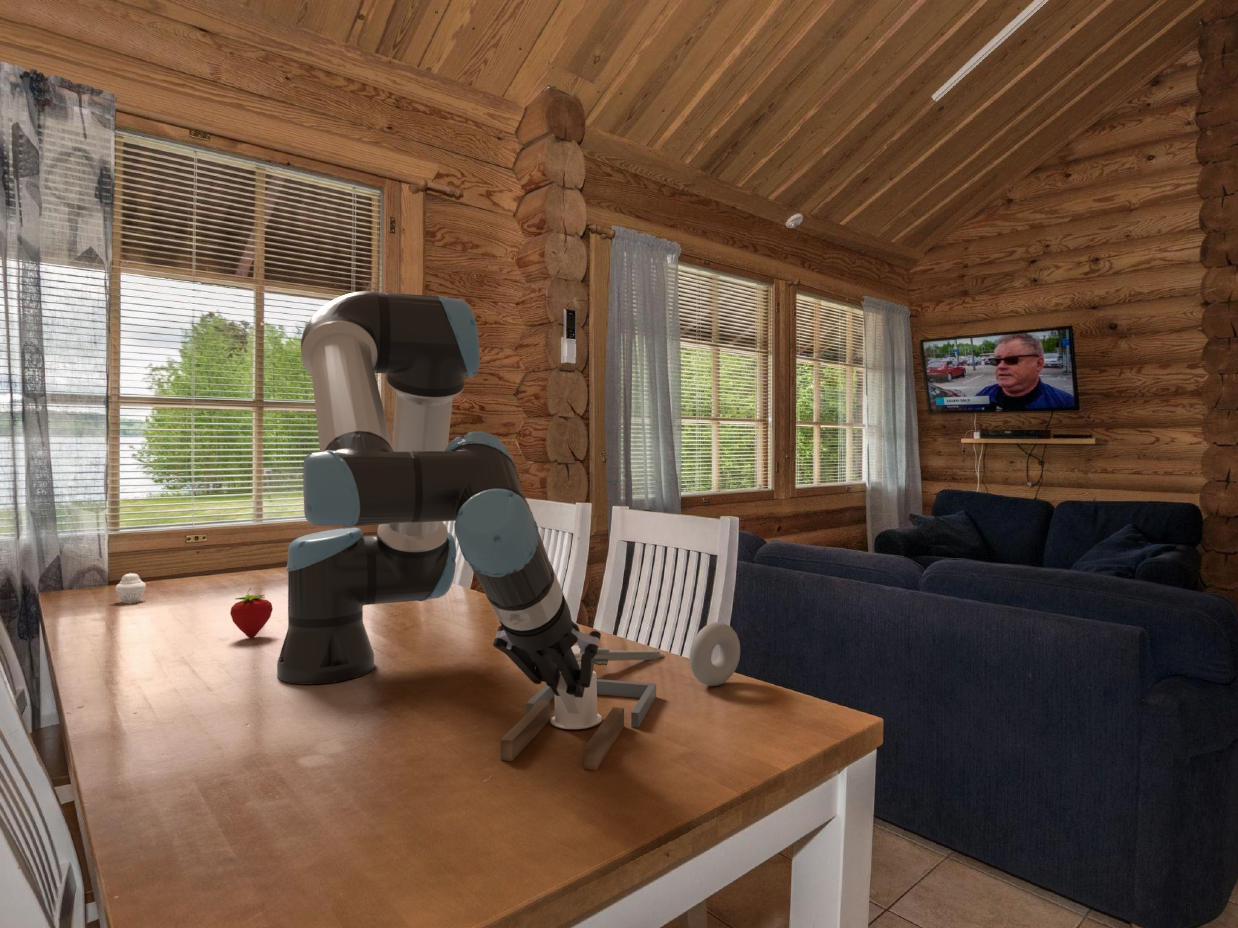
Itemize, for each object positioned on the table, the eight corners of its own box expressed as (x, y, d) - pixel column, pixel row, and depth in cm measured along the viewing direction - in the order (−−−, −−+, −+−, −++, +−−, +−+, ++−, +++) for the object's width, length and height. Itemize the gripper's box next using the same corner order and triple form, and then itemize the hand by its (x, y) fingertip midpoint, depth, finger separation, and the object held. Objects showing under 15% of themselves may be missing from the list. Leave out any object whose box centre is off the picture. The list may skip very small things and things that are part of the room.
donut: (700, 694, 115) (700, 629, 115) (684, 689, 118) (684, 625, 117) (744, 681, 121) (745, 619, 121) (728, 676, 124) (729, 615, 124)
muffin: (123, 605, 176) (122, 575, 176) (110, 602, 179) (109, 573, 179) (151, 601, 181) (150, 571, 181) (138, 598, 185) (138, 569, 184)
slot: (500, 759, 92) (500, 739, 92) (539, 718, 105) (539, 700, 105) (596, 770, 89) (596, 749, 89) (624, 726, 102) (624, 707, 102)
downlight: (613, 725, 102) (611, 651, 102) (566, 736, 99) (564, 659, 99) (585, 709, 109) (583, 640, 109) (540, 719, 106) (538, 647, 106)
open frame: (526, 717, 106) (526, 702, 106) (555, 688, 118) (555, 675, 118) (638, 727, 102) (638, 712, 102) (656, 696, 114) (656, 683, 114)
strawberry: (276, 637, 148) (275, 586, 147) (234, 644, 143) (233, 591, 143) (269, 631, 152) (268, 582, 152) (227, 637, 148) (226, 586, 147)
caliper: (575, 683, 121) (575, 644, 121) (571, 681, 122) (571, 642, 122) (664, 658, 135) (664, 623, 135) (660, 656, 136) (660, 622, 136)
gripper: (464, 630, 82) (521, 726, 99) (580, 637, 79) (619, 735, 95) (484, 573, 87) (536, 673, 104) (594, 578, 84) (629, 681, 100)
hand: (576, 703), depth 100 cm, fingers closed
